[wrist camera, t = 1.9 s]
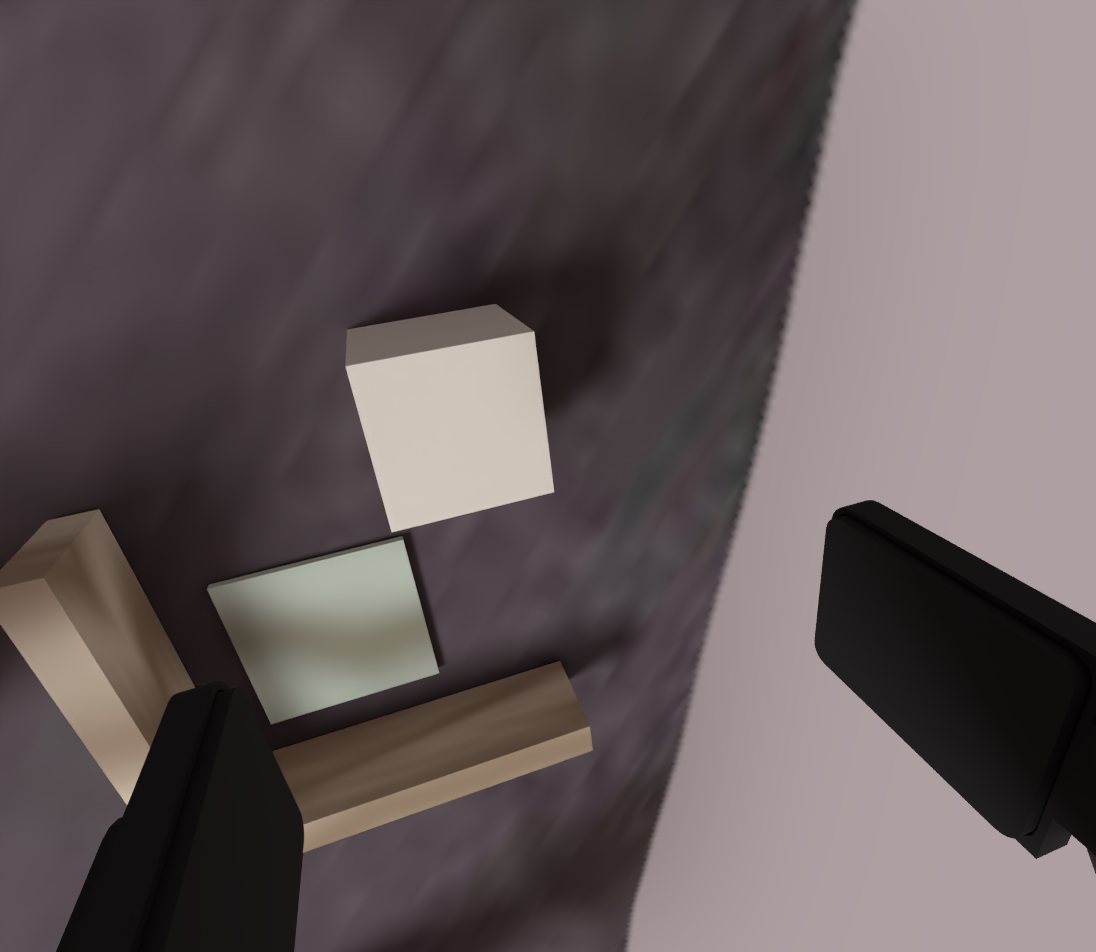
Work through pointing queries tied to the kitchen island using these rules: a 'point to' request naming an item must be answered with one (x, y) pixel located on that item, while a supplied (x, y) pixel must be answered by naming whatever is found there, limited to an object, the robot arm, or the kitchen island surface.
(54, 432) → the kitchen island surface
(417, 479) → the cube
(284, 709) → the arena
